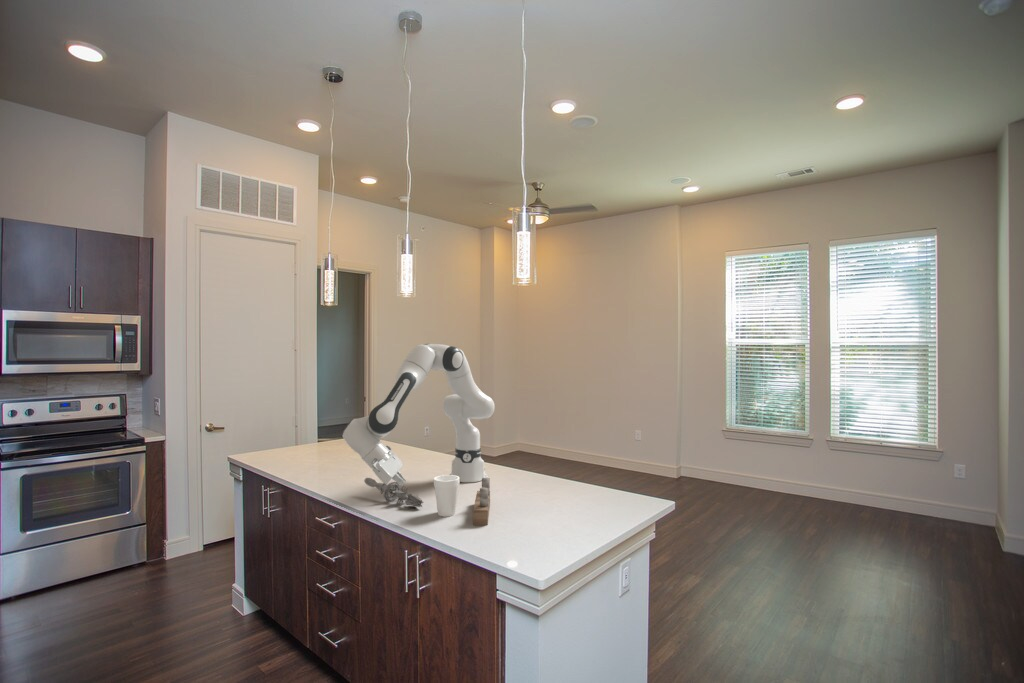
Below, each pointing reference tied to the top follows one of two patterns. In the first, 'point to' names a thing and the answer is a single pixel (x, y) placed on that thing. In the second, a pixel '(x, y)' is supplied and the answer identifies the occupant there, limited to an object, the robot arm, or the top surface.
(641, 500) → the top surface
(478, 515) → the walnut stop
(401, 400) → the robot arm
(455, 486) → the foam cup
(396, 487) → the spaceship
